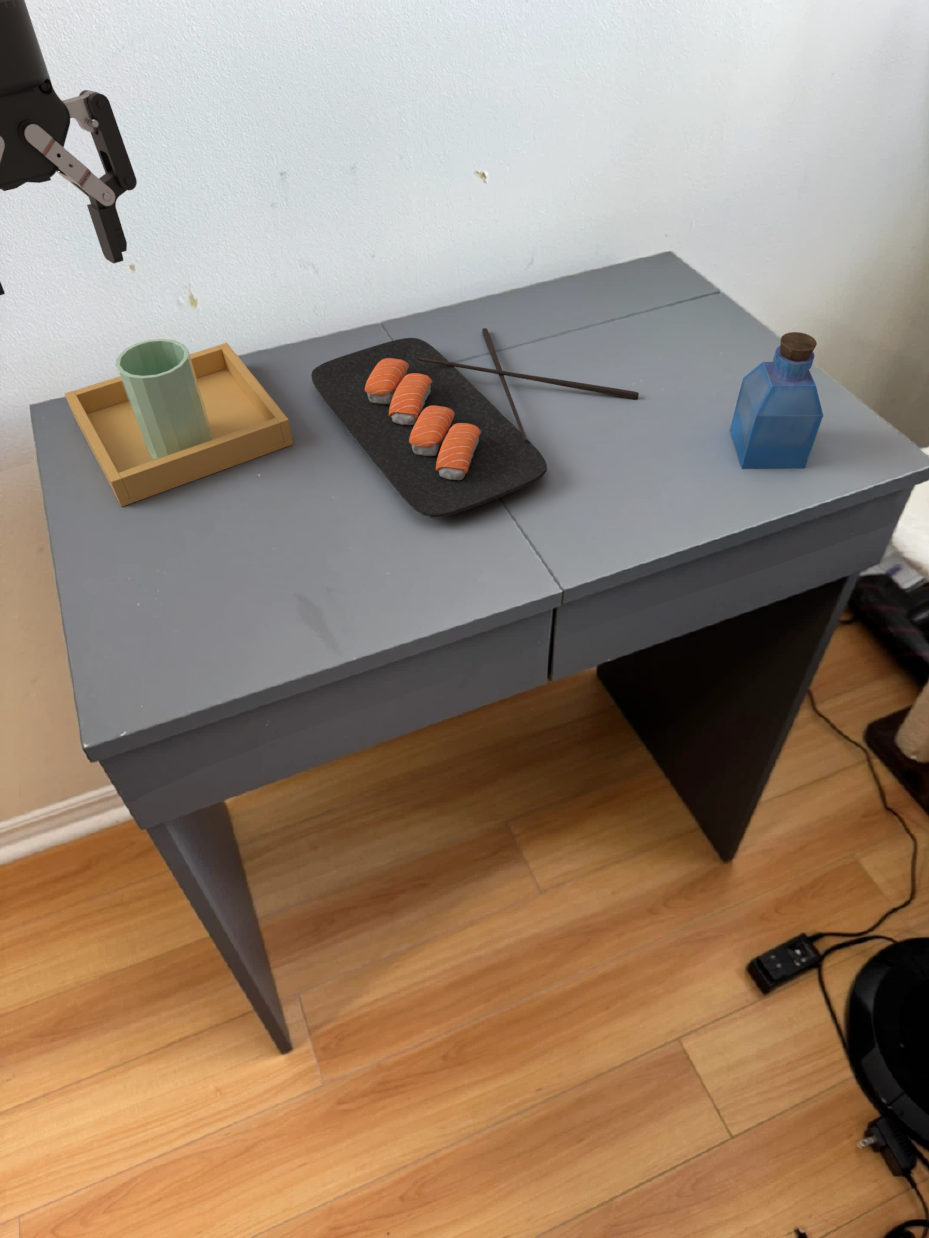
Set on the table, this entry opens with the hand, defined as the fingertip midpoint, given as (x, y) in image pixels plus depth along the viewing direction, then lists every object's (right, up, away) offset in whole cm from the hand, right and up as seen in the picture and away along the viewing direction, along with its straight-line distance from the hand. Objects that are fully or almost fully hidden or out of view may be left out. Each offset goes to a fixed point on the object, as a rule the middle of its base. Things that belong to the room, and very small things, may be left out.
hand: (57, 276), depth 62 cm
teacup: (0, -6, +27) cm, 28 cm away
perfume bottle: (+59, -7, +26) cm, 65 cm away
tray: (-1, -5, +30) cm, 30 cm away
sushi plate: (+31, -2, +31) cm, 44 cm away
